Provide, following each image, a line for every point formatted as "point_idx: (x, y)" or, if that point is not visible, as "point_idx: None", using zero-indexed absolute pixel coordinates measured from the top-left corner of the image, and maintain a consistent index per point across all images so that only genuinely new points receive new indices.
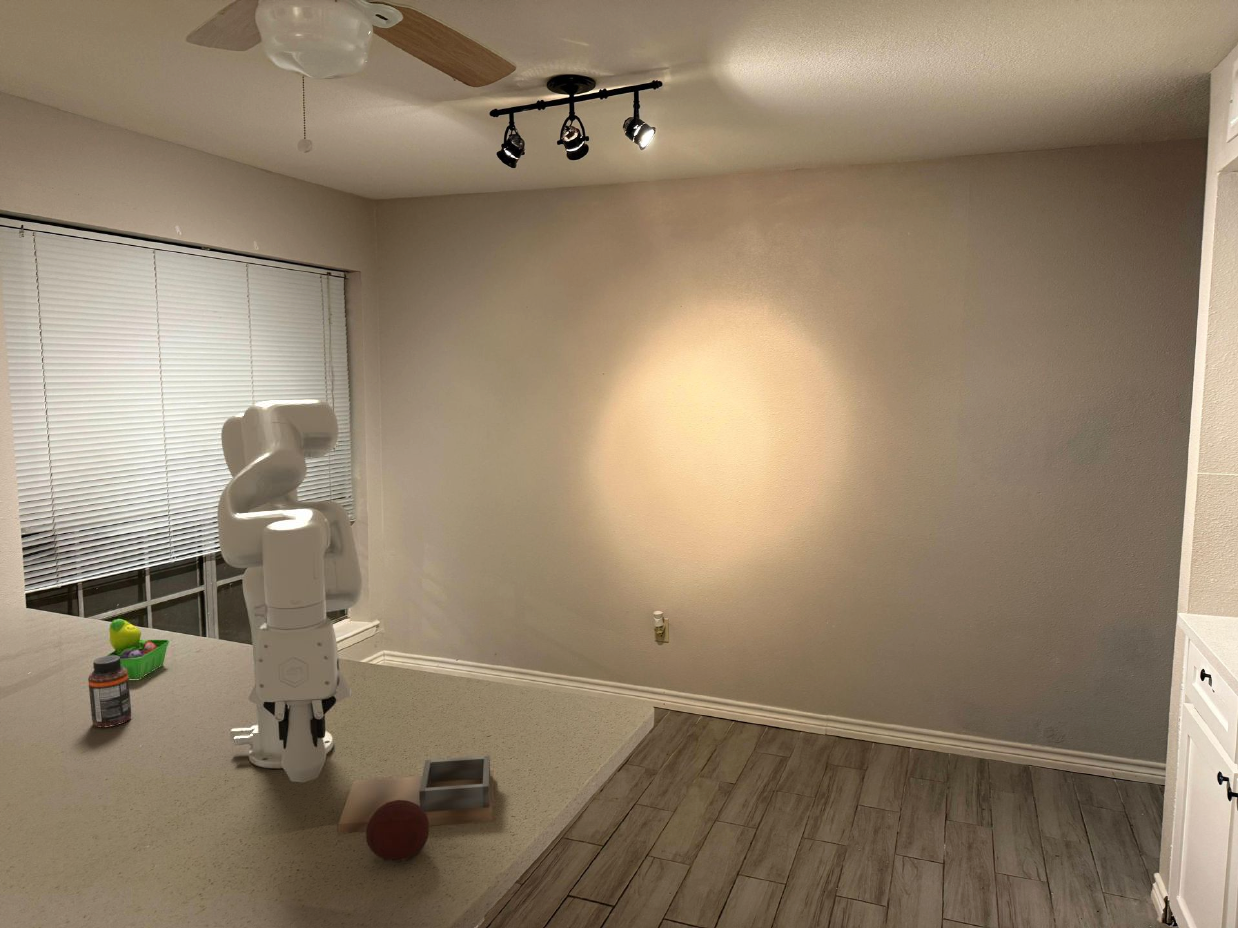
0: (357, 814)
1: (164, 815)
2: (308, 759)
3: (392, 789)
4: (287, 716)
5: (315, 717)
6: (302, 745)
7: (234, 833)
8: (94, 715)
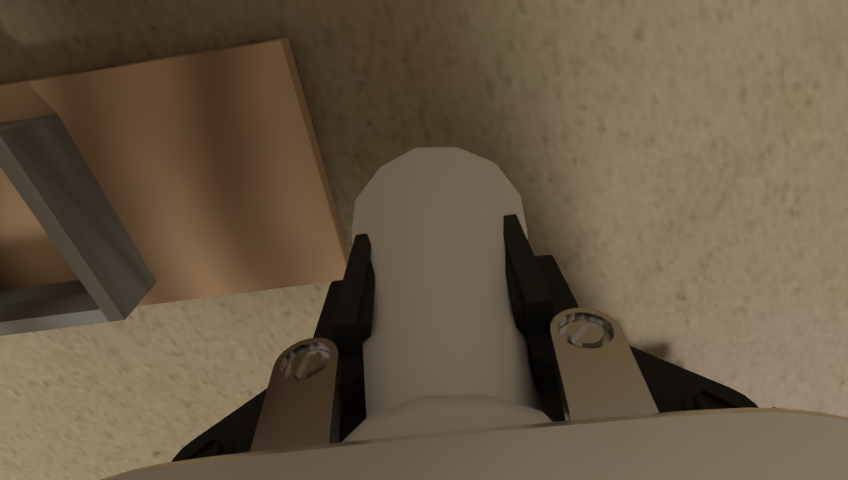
0: (248, 101)
1: (823, 137)
2: (388, 180)
3: (220, 237)
4: (531, 349)
5: (333, 344)
6: (411, 210)
7: (608, 34)
8: None
